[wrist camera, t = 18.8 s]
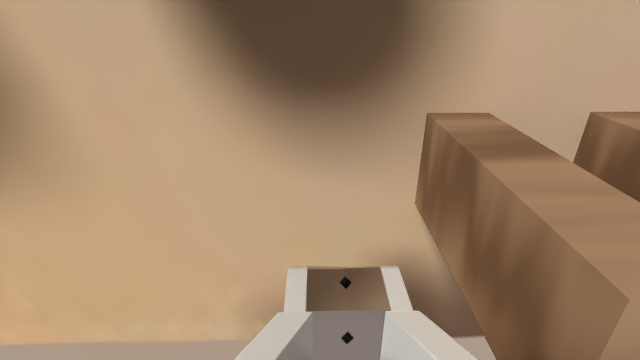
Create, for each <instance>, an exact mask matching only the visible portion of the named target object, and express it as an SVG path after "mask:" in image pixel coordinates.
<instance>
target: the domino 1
mask: <svg viewBox="0 0 640 360" xmlns="http://www.w3.org/2000/svg"><path fill="white" fill-rule="evenodd" d="M415 204H416V206H417V208H418V210H419V212H420V214H421V216H422V218H423V220H424V221H425V223H426V225H427V227H428V229H429V231H430V233H431V235H432V237H433V239H434V241H435V242H436V244H437V246H438V248H439V250H440V252H441V254H442V256H443V258H444V260H445V262H446V264H447V265H448V267H449V269H450V271H451V273H452V275H453V277H454V279H455V281H456V283H457V285H458V286H459V288H460V290H461V292H462V294H463V296H464V298H465V300H466V302H467V304H468V306H469V308H470V309H471V311H472V313H473V315H474V317H475V319H476V321H477V323H478V325H479V327H480V329H481V331H482V332H483V334H484V336H485V338H486V340H487V342H488V344H489V346H490V348H491V350H492V352H493V353H494V355H495V357H496V359H497V360H640V202H638V201H636V200H635V199H633V198H631V197H630V196H628V195H626V194H625V193H623V192H621V191H620V190H618V189H616V188H614V187H613V186H611V185H609V184H608V183H606V182H604V181H603V180H601V179H599V178H598V177H596V176H594V175H593V174H591V173H589V172H587V171H586V170H584V169H582V168H581V167H579V166H577V165H576V164H574V163H572V162H571V161H569V160H567V159H566V158H564V157H562V156H560V155H559V154H557V153H555V152H554V151H552V150H550V149H549V148H547V147H545V146H544V145H542V144H540V143H539V142H537V141H535V140H533V139H532V138H530V137H528V136H527V135H525V134H523V133H522V132H520V131H518V130H517V129H515V128H513V127H512V126H510V125H508V124H506V123H505V122H503V121H501V120H500V119H498V118H496V117H495V116H493V115H491V114H490V113H427V118H426V126H425V133H424V140H423V148H422V155H421V163H420V170H419V177H418V185H417V192H416V199H415Z"/></svg>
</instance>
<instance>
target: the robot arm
mask: <svg viewBox="0 0 640 360" xmlns="http://www.w3.org/2000/svg"><path fill="white" fill-rule="evenodd" d="M234 360H478V359H477V358H476V357H474V356H473V355H472V354H471V353H469V352H468V351H467V350H466V349H465V348H464V347H462V346H461V345H460V344H459V343H458V342H456V341H455V340H454V339H453V338H452V337H450V336H449V335H448V334H447V333H446V332H444V331H443V330H442V329H441V328H440V327H438V326H437V325H436V324H435V323H434V322H432V321H431V320H430V319H429V318H428V317H426V316H425V315H424V314H423V313H422V312H420V311H414V310H413V307H412V304H411V301H410V298H409V295H408V292H407V289H406V286H405V283H404V280H403V277H402V274H401V271H400V268H399V267H398V266H397V265H391V266H379V267H378V266H364V267H324V266H308V268H307V267H301V266H289V269H288V275H287V284H286V294H285V304H284V312H278V313H277V314H276V315H275V316H274V317H273V318H272V319H271V320H270V321H269V323H268V324H267V325H266V326H265V327H264V328H263V329H262V330H261V331H260V332H259V333H258V334H257V335H256V336H255V338H254V339H253V340H252V341H251V342H250V343H249V344H248V345H247V346H246V347H245V348H244V349H243V350H242V352H241V353H240V354H239V355H238V356H237V357H236V358H235V359H234Z"/></svg>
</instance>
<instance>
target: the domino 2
mask: <svg viewBox="0 0 640 360" xmlns="http://www.w3.org/2000/svg"><path fill="white" fill-rule="evenodd" d="M573 163H574V164H576V165H577V166H579V167H581V168H582V169H584V170H586V171H587V172H589V173H591V174H593V175H594V176H596V177H598V178H599V179H601V180H603V181H604V182H606V183H608V184H609V185H611V186H613V187H614V188H616V189H618V190H620V191H621V192H623V193H625V194H626V195H628V196H630V197H631V198H633V199H635V200H636V201H638V202H640V112H591V113H590V116H589V119H588V122H587V125H586V128H585V131H584V133H583V136H582V139H581V142H580V145H579V148H578V151H577V154H576V156H575V159H574V162H573Z"/></svg>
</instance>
